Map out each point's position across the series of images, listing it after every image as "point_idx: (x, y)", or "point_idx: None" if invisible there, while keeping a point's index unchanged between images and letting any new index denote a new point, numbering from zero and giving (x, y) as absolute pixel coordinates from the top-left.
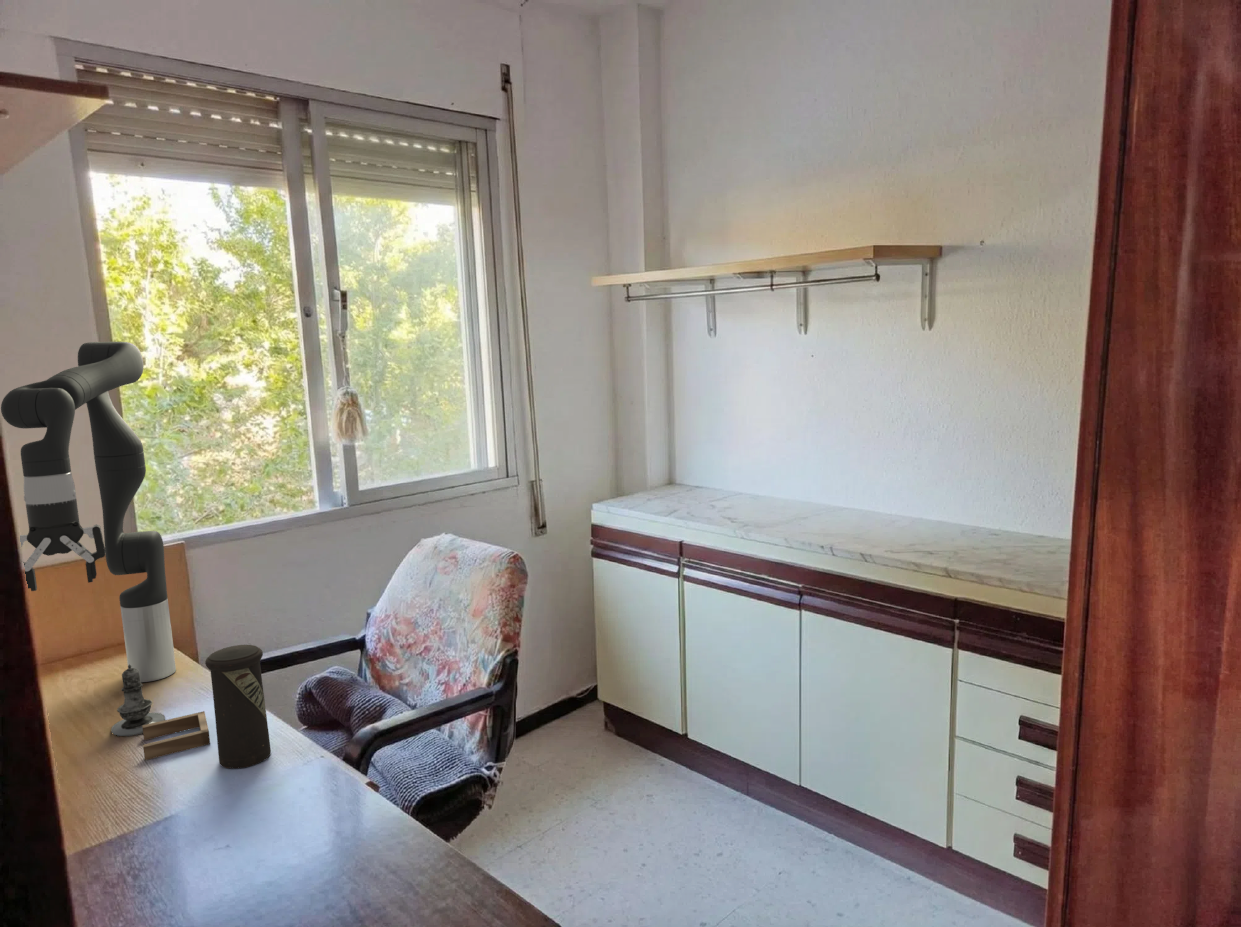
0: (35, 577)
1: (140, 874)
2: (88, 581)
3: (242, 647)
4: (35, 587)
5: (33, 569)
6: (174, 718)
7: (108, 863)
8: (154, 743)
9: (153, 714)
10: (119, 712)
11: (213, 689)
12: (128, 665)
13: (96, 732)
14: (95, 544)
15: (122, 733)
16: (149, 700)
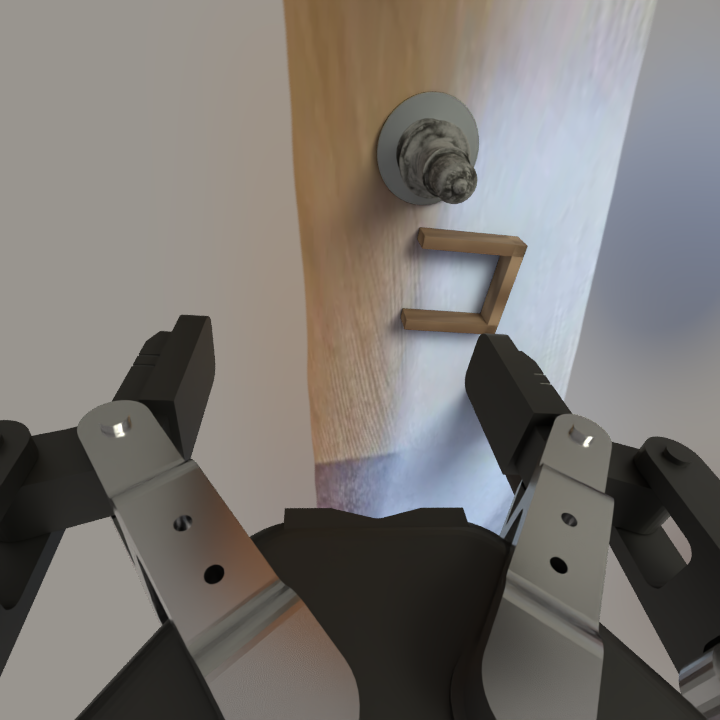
0: (193, 360)
1: (354, 510)
2: (468, 390)
3: None
4: (211, 382)
5: (173, 421)
6: (477, 243)
7: (334, 490)
8: (420, 327)
9: (464, 122)
10: (401, 176)
11: (509, 479)
12: (460, 191)
13: (351, 117)
14: (648, 612)
15: (392, 190)
16: (467, 154)
